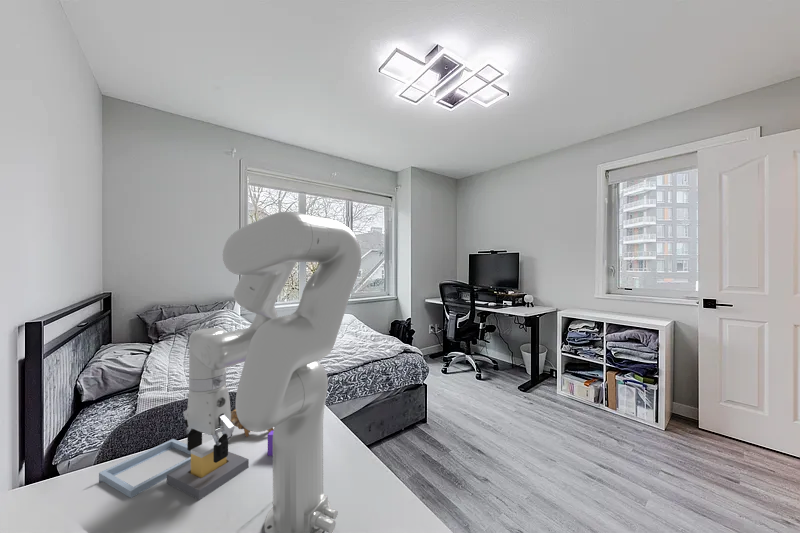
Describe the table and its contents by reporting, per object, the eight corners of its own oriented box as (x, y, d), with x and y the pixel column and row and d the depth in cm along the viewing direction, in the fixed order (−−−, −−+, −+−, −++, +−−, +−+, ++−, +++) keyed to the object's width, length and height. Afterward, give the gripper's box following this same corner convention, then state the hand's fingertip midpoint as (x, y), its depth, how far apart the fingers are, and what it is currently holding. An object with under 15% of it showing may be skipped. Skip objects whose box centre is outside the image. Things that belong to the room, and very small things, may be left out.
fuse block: (248, 471, 78) (248, 459, 78) (199, 504, 67) (199, 490, 67) (217, 458, 83) (217, 447, 83) (166, 487, 72) (166, 474, 72)
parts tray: (204, 460, 82) (204, 451, 82) (130, 502, 68) (130, 491, 68) (173, 447, 88) (173, 438, 88) (99, 482, 74) (98, 472, 74)
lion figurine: (227, 445, 89) (227, 413, 89) (233, 435, 95) (233, 405, 95) (282, 439, 92) (282, 408, 92) (285, 430, 98) (285, 400, 97)
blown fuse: (226, 469, 77) (226, 441, 77) (201, 485, 72) (201, 454, 72) (215, 465, 79) (215, 437, 79) (190, 480, 73) (190, 449, 73)
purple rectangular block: (292, 462, 82) (292, 436, 82) (267, 460, 83) (267, 434, 83) (311, 437, 94) (311, 414, 94) (289, 436, 95) (289, 413, 95)
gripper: (246, 383, 75) (246, 455, 75) (201, 370, 82) (200, 436, 83) (216, 394, 68) (215, 473, 68) (169, 380, 76) (169, 451, 76)
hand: (207, 453), depth 75 cm, fingers open, 9 cm apart
